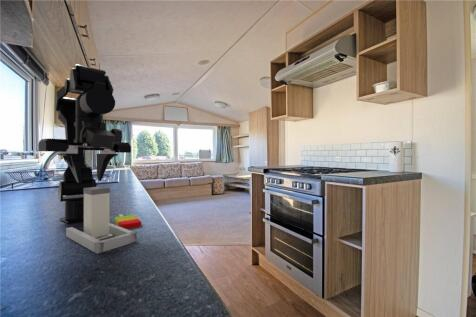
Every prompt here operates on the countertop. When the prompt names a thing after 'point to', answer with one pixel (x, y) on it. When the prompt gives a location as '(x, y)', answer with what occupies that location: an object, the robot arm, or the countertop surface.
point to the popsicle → (127, 221)
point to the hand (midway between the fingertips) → (89, 181)
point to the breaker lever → (96, 211)
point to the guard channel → (101, 246)
